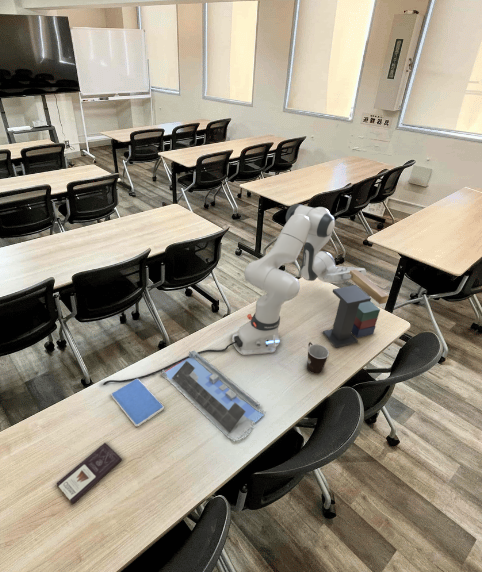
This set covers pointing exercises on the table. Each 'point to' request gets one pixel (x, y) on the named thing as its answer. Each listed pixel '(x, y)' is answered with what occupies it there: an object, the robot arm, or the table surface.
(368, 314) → the book stack
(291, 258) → the robot arm
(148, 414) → the tablet
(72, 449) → the table surface
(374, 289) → the wooden bar
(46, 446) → the table surface
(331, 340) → the stand
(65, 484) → the chocolate bar
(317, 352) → the coffee mug
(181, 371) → the blue parts tray
